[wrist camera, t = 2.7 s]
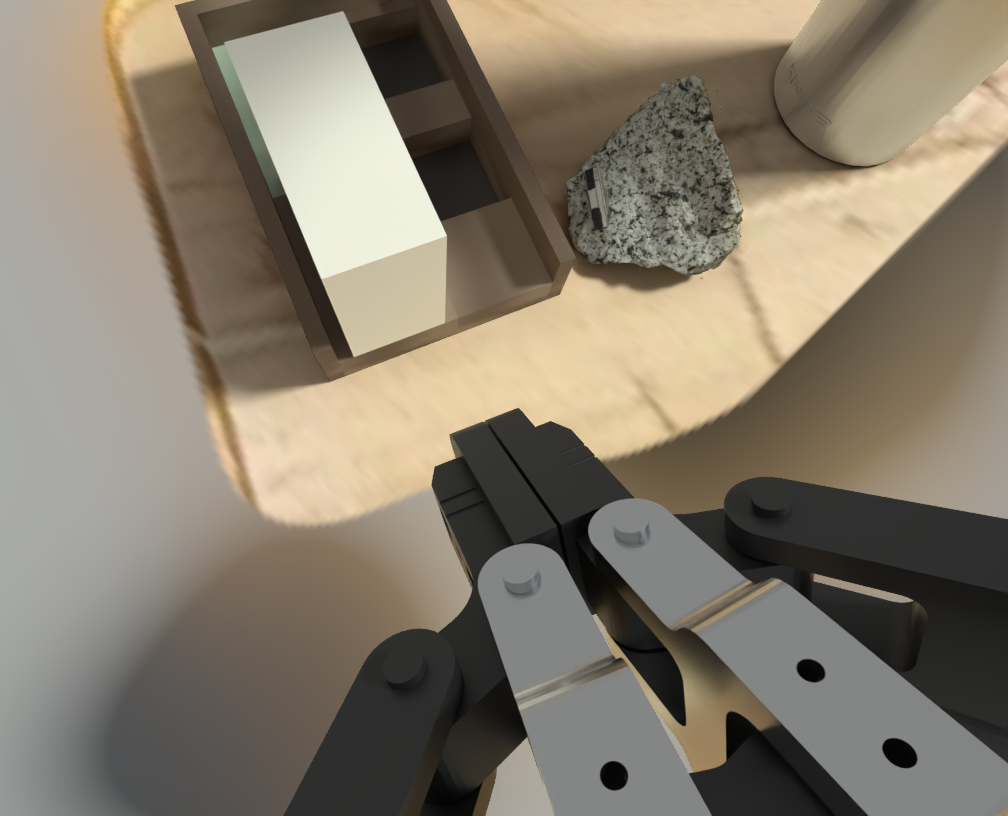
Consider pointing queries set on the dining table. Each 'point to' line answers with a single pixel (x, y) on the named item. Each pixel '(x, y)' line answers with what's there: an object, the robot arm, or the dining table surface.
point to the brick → (347, 178)
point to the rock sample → (659, 188)
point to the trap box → (432, 147)
